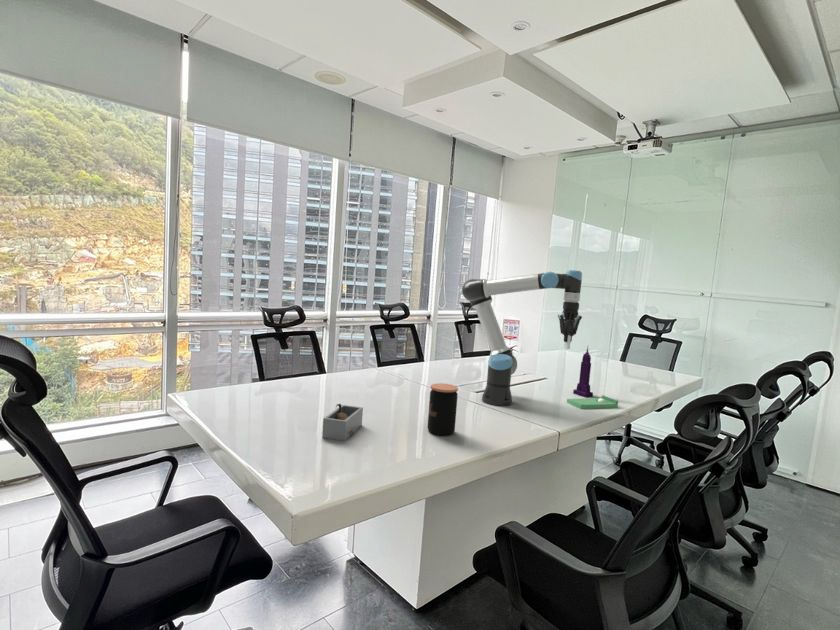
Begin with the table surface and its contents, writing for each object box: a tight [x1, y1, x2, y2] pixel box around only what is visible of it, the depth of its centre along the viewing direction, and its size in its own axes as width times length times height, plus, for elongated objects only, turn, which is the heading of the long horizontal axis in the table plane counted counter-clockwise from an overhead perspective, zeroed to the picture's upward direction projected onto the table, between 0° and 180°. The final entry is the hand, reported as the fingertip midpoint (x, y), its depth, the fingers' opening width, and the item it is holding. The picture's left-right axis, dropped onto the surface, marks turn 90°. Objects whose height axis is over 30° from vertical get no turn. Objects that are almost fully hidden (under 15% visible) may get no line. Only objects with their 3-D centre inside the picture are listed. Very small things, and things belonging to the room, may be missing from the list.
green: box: [566, 394, 619, 410], centre depth 233 cm, size 23×11×4 cm, turn 108°
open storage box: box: [321, 404, 364, 442], centre depth 168 cm, size 8×18×7 cm, turn 168°
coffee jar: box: [427, 382, 459, 437], centre depth 175 cm, size 11×11×18 cm
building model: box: [572, 346, 594, 398], centre depth 253 cm, size 9×6×30 cm
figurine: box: [335, 403, 355, 435], centre depth 168 cm, size 14×4×9 cm, turn 30°
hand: (566, 348), depth 226 cm, fingers closed
